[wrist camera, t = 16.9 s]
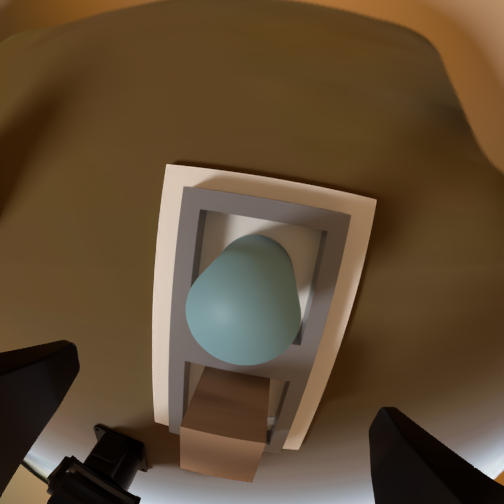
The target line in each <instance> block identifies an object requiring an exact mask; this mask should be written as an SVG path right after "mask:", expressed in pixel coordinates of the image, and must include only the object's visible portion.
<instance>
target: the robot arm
mask: <svg viewBox="0 0 504 504" xmlns="http://www.w3.org/2000/svg"><path fill="white" fill-rule="evenodd" d="M79 369H80V364H79V358H78V352H77V347H76V345H75V344H74V343H72V342H69V341H67V340H60V341H56V342H51V343H47V344H42V345H37V346H32V347H27V348H22V349H17V350H12V351H7V352H2V353H0V497H1V496H2V493H3V492H4V490H5V488H6V487H7V485H8V483H9V482H10V480H11V478H12V477H13V475H14V474H15V472H16V470H17V469H18V467H19V465H20V464H21V462H22V461H23V459H24V458H25V456H26V455H27V453H28V451H29V450H30V448H31V447H32V445H33V444H34V442H35V441H36V439H37V438H38V436H39V435H40V433H41V432H42V431H43V429H44V428H45V426H46V425H47V423H48V422H49V420H50V419H51V418H52V416H53V415H54V413H55V412H56V410H57V409H58V407H59V406H60V404H61V402H62V401H63V399H64V397H65V395H66V393H67V392H68V390H69V388H70V386H71V385H72V383H73V381H74V379H75V378H76V376H77V374H78V372H79ZM94 431H95V434H96V438H97V441H98V442H97V444H96V445H95V446H94V448H93V449H92V451H91V452H90V454H89V455H88V457H87V458H86V460H85V461H84V463H82V462H80V461H79V460H77V459H76V457H74V456H73V455H72V457H71V458H69V457H67V456H65V458H64V459H63V460H62V462H61V463H60V464H59V465H58V466H57V467H56V469H55V470H54V471H53V472H52V473H51V474H50V475H49V476H48V477H47V480H48V483H49V485H48V487H49V488H48V490H47V493H48V494H50V495H51V497H50V499H49V500H48V502H47V504H139V503H140V500H141V498H140V497H138V496H135V495H133V494H131V493H129V492H127V491H128V489H129V487H130V485H131V483H132V481H133V479H134V477H135V475H136V473H137V471H138V470H140V471H143V472H147V470H148V466H147V460H146V454H145V448H144V445H143V444H142V443H141V442H138V441H136V440H133V439H130V438H128V437H125V436H123V435H120V434H117V433H115V432H113V431H110V430H108V429H106V428H103V427H101V426H99V425H95V426H94ZM369 445H370V464H371V478H372V485H373V492H374V498H375V504H504V486H503V485H501V484H499V483H497V482H496V481H494V480H493V479H491V478H490V477H488V476H487V475H485V474H484V473H482V472H481V471H480V470H478V469H477V468H474V466H472V465H471V464H470V463H468V462H467V461H466V460H464V459H463V458H461V457H460V456H459V455H457V454H456V453H455V452H453V451H452V450H451V449H449V448H448V447H447V446H445V445H444V444H443V443H441V442H440V441H439V440H437V439H436V438H435V437H433V436H432V435H431V434H429V433H428V432H427V431H425V430H424V429H423V428H421V427H420V426H419V425H417V424H416V423H415V422H414V421H412V420H411V419H410V418H408V417H407V416H406V415H405V414H403V413H402V412H401V411H399V410H398V409H397V408H395V407H382V408H381V409H380V410H379V411H378V413H377V415H376V417H375V419H374V420H373V422H372V424H371V426H370V428H369Z"/></svg>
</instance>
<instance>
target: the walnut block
mask: <svg viewBox="0 0 504 504" xmlns="http://www.w3.org/2000/svg"><path fill="white" fill-rule="evenodd" d="M269 389H270V378H266V377H260V376H254V375H248V374H243V373H238V372H233V371H227V370H223V369H218V368H213V367H209V366H205V368H204V370H203V373H202V375H201V377H200V380H199V382H198V385H197V387H196V389H195V392H194V394H193V397H192V399H191V401H190V404H189V406H188V408H187V411H186V413H185V416H184V418H183V420H182V423H181V425H180V468H182V469H186V470H190V471H194V472H198V473H202V474H207V475H211V476H216V477H221V478H227V479H232V480H238V481H245V482H252V481H253V478H254V475H255V473H256V470H257V467H258V464H259V461H260V459H261V456H262V453H263V450H264V447H265V444H266V433H267V419H268V404H269Z"/></svg>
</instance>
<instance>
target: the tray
mask: <svg viewBox="0 0 504 504" xmlns="http://www.w3.org/2000/svg"><path fill="white" fill-rule="evenodd" d="M376 202H377V200H376V199H372V198H368V197H364V196H360V195H355V194H351V193H346V192H342V191H337V190H333V189H328V188H323V187H318V186H313V185H308V184H303V183H297V182H292V181H286V180H281V179H275V178H269V177H263V176H257V175H250V174H244V173H237V172H230V171H222V170H215V169H207V168H198V167H190V166H180V165H170V164H166V171H165V178H164V185H163V192H162V200H161V208H160V216H159V226H158V236H157V247H156V259H155V274H154V291H153V319H152V374H153V400H154V417H155V422H157V423H160V424H164V425H167V426H169V432H170V433H174V434H177V435H180V425H181V423H182V420H183V418H184V416H185V413H186V411H187V408H188V406H189V404H190V401H191V399H192V397H193V394H194V392H195V389H196V387H197V385H198V382H199V380H200V377H201V375H202V373H203V370H204V368H205V366H209V367H213V368H218V369H223V370H227V371H233V372H238V373H243V374H248V375H254V376H260V377H266V378H270V389H269V404H268V419H267V433H266V444H265V447H264V450H263V452H267V453H276V454H280V453H281V451H282V449H294V450H299V448H300V446H301V444H302V441H303V439H304V437H305V435H306V433H307V430H308V428H309V426H310V423H311V421H312V419H313V416H314V414H315V412H316V409H317V407H318V404H319V402H320V399H321V397H322V394H323V392H324V389H325V387H326V384H327V381H328V379H329V376H330V373H331V371H332V368H333V365H334V362H335V359H336V356H337V353H338V350H339V348H340V345H341V341H342V338H343V335H344V332H345V329H346V326H347V323H348V319H349V316H350V313H351V309H352V306H353V302H354V299H355V295H356V291H357V288H358V284H359V280H360V276H361V272H362V268H363V264H364V260H365V256H366V251H367V247H368V242H369V238H370V233H371V228H372V223H373V218H374V213H375V208H376ZM247 235H262V236H266V237H269V238H271V239H273V240H275V241H276V242H278V243H279V244H280V245H281V246H282V247H284V249H285V250H286V251H287V253H288V255H289V256H290V259H291V261H292V265H293V270H294V275H295V281H296V286H297V291H298V297H299V302H300V308H301V322H300V328H299V331H298V334H297V336H296V338H295V340H294V341H293V342H292V344H291V345H290V346H289V347H288V349H287V350H286V351H284V352H283V353H282V354H281V355H279V356H278V357H276V358H274V359H272V360H270V361H268V362H265V363H261V364H256V365H237V364H232V363H228V362H225V361H222V360H220V359H218V358H216V357H214V356H213V355H211V354H209V353H208V352H207V351H206V350H204V349H203V348H202V347H201V346H200V345H199V344H198V342H197V341H196V340H195V338H194V337H193V335H192V333H191V331H190V329H189V326H188V323H187V319H186V301H187V297H188V293H189V291H190V289H191V287H192V285H193V284H194V282H195V281H196V280H197V278H198V277H199V276H200V275H201V274H202V273H203V272H204V271H205V270H206V269H207V268H208V266H209V265H210V264H211V263H212V262H213V261H214V260H215V259H216V258H217V257H218V256H219V255H220V253H221V252H222V251H223V250H224V249H225V248H226V247H227V246H228V245H229V244H230V243H231V242H233V241H234V240H236V239H238V238H240V237H243V236H247Z"/></svg>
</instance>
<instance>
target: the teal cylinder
mask: <svg viewBox="0 0 504 504" xmlns="http://www.w3.org/2000/svg"><path fill="white" fill-rule="evenodd" d="M186 319H187V323H188V326H189V329H190V331H191V333H192V335H193V337H194V338H195V340H196V341H197V342H198V344H199V345H200V346H201V347H202V348H203V349H204V350H206V351H207V352H208V353H209V354H211V355H213V356H214V357H216V358H218V359H220V360H222V361H225V362H228V363H232V364H237V365H256V364H261V363H265V362H268V361H270V360H272V359H274V358H276V357H278V356H279V355H281V354H282V353H283V352H284V351H286V350H287V349H288V347H289V346H290V345H291V344H292V342H293V341H294V340H295V338H296V336H297V334H298V331H299V328H300V322H301V308H300V302H299V297H298V291H297V286H296V281H295V275H294V270H293V265H292V261H291V259H290V256H289V255H288V253H287V251H286V250H285V249H284V247H282V246H281V245H280V244H279V243H278V242H276V241H275V240H273V239H271V238H269V237H266V236H262V235H247V236H243V237H240V238H238V239H236V240H234V241H233V242H231V243H230V244H229V245H228V246H227V247H226V248H225V249H224V250H223V251H222V252H221V253H220V255H219V256H218V257H217V258H216V259H215V260H214V261H213V262H212V263H211V264H210V265H209V266H208V268H207V269H206V270H205V271H204V272H203V273H202V274H201V275H200V276H199V277H198V278H197V280H196V281H195V282H194V284H193V285H192V287H191V289H190V291H189V293H188V297H187V301H186Z"/></svg>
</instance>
